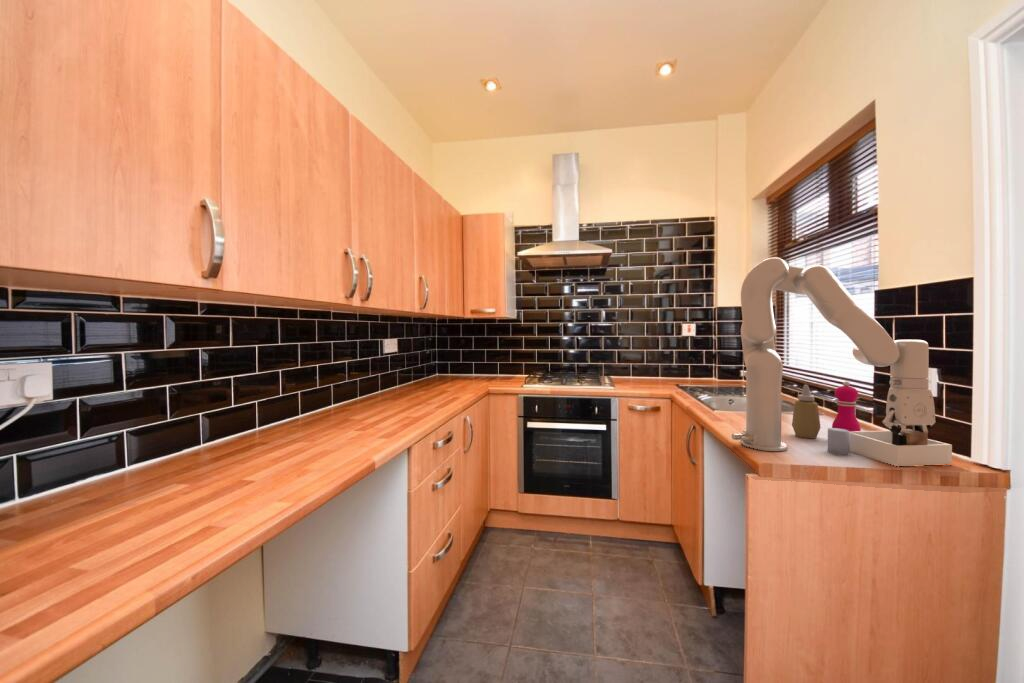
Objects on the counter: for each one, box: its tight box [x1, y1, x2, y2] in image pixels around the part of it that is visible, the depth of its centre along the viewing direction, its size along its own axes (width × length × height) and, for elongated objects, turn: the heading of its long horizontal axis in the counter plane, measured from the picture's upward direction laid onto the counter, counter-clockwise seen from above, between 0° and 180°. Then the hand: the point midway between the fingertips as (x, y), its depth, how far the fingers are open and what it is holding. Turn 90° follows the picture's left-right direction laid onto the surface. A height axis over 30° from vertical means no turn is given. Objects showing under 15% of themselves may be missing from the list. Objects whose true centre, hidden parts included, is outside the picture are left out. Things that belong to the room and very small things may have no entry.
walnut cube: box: [892, 428, 929, 445], centre depth 110 cm, size 5×5×5 cm
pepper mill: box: [831, 380, 862, 432], centre depth 129 cm, size 7×7×20 cm
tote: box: [849, 429, 953, 468], centre depth 113 cm, size 16×16×6 cm
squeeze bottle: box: [791, 384, 821, 439], centre depth 136 cm, size 8×8×18 cm
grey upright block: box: [827, 427, 850, 457], centre depth 118 cm, size 5×5×7 cm
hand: (908, 447), depth 110 cm, fingers closed on walnut cube, 5 cm apart
